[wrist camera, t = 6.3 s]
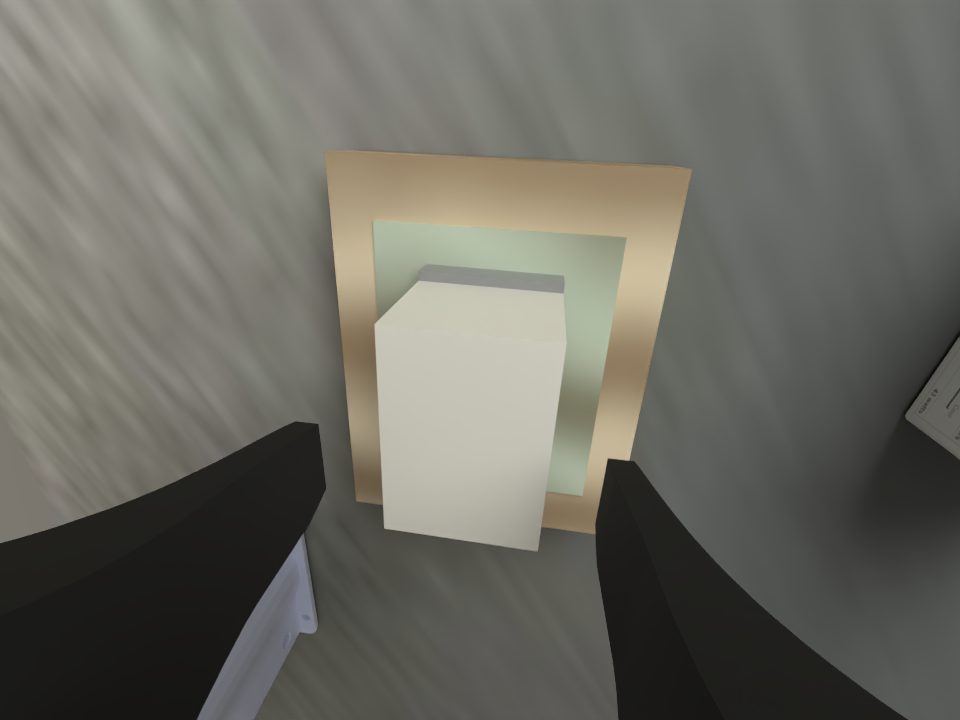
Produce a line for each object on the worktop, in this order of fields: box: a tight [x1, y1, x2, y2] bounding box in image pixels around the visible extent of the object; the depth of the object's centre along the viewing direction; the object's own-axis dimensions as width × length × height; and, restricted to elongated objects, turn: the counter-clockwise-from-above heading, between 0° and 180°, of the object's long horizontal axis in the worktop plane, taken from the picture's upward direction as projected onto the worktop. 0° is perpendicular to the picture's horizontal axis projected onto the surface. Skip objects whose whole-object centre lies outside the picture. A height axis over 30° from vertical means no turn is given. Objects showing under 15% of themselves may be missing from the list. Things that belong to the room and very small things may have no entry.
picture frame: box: [325, 150, 692, 534], centre depth 18 cm, size 14×11×3 cm
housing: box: [374, 264, 567, 552], centre depth 14 cm, size 7×4×5 cm, turn 177°
